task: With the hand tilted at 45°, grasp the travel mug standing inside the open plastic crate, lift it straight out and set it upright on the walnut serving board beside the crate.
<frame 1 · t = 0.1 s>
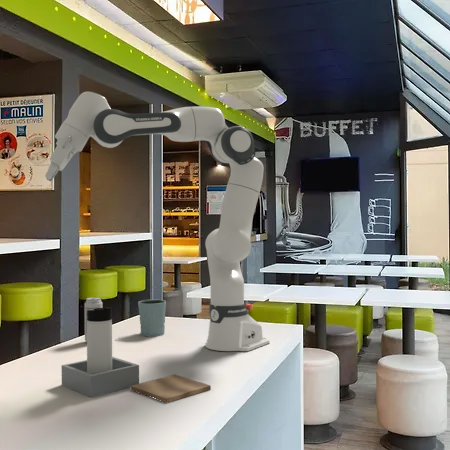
hand: (48, 179, 165), 54 cm above the table, tool tilted 30°, fingers open, 8 cm apart
crate: (100, 384, 141), on the table
energy drink can: (93, 342, 189), on the table
travel mug: (100, 385, 141), resting in crate
teal cup: (152, 334, 202), on the table
serving board: (170, 389, 136), on the table
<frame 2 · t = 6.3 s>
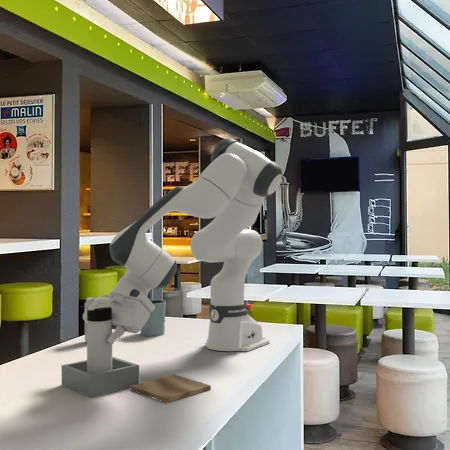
hand: (98, 340, 140), 11 cm above the table, tool tilted 45°, fingers closed on travel mug, 6 cm apart
travel mug: (100, 385, 141), resting in crate, touching gripper
everything else where it was.
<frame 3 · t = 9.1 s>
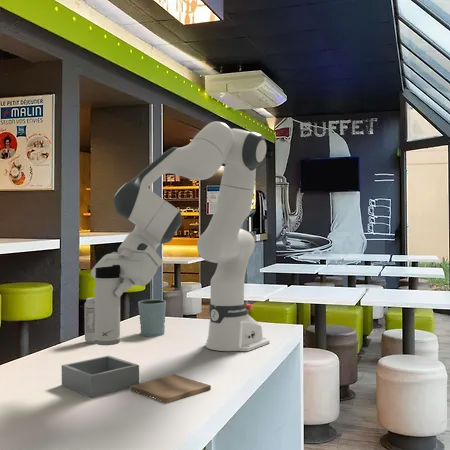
hand: (106, 294, 140), 23 cm above the table, tool tilted 45°, fingers closed on travel mug, 6 cm apart
travel mug: (107, 343, 140), point 11 cm above the table, touching gripper
everything else where it was.
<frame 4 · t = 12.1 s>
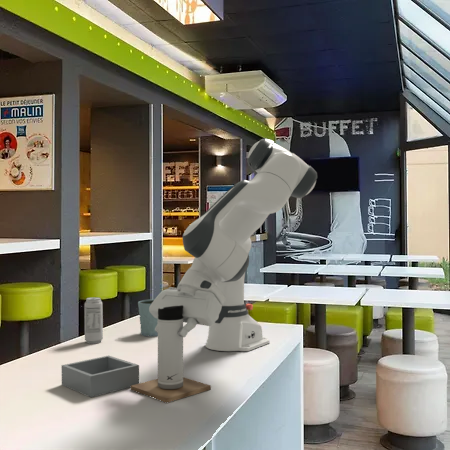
hand: (169, 333, 136), 14 cm above the table, tool tilted 45°, fingers closed on travel mug, 6 cm apart
travel mug: (171, 386, 136), point 1 cm above the table, touching gripper, serving board
everything else where it was.
when the fingers open (14 cm above the table, at t = 12.6 s): travel mug stays where it is, resting on serving board.
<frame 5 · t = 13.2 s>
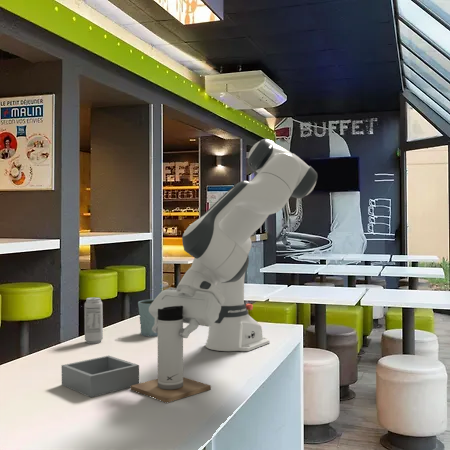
hand: (168, 334, 136), 14 cm above the table, tool tilted 45°, fingers open, 8 cm apart
travel mug: (171, 387, 136), point 1 cm above the table, touching serving board
everything else where it was.
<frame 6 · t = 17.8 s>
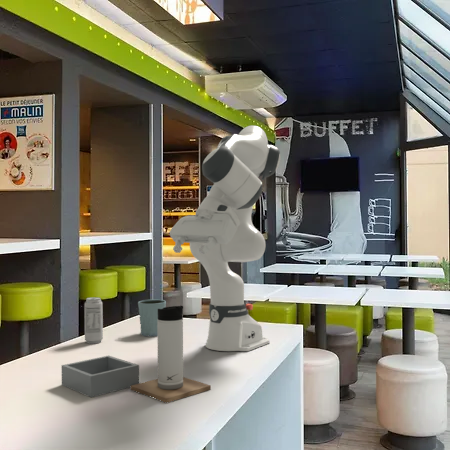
hand: (188, 251, 148), 33 cm above the table, tool tilted 45°, fingers open, 8 cm apart
nothing on the table moved.
at the end: travel mug inside the target area on the serving board (0.6 cm from its centre), point 0.8 cm above the serving board's base; travel mug tilted 0°; the gripper is holding nothing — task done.
